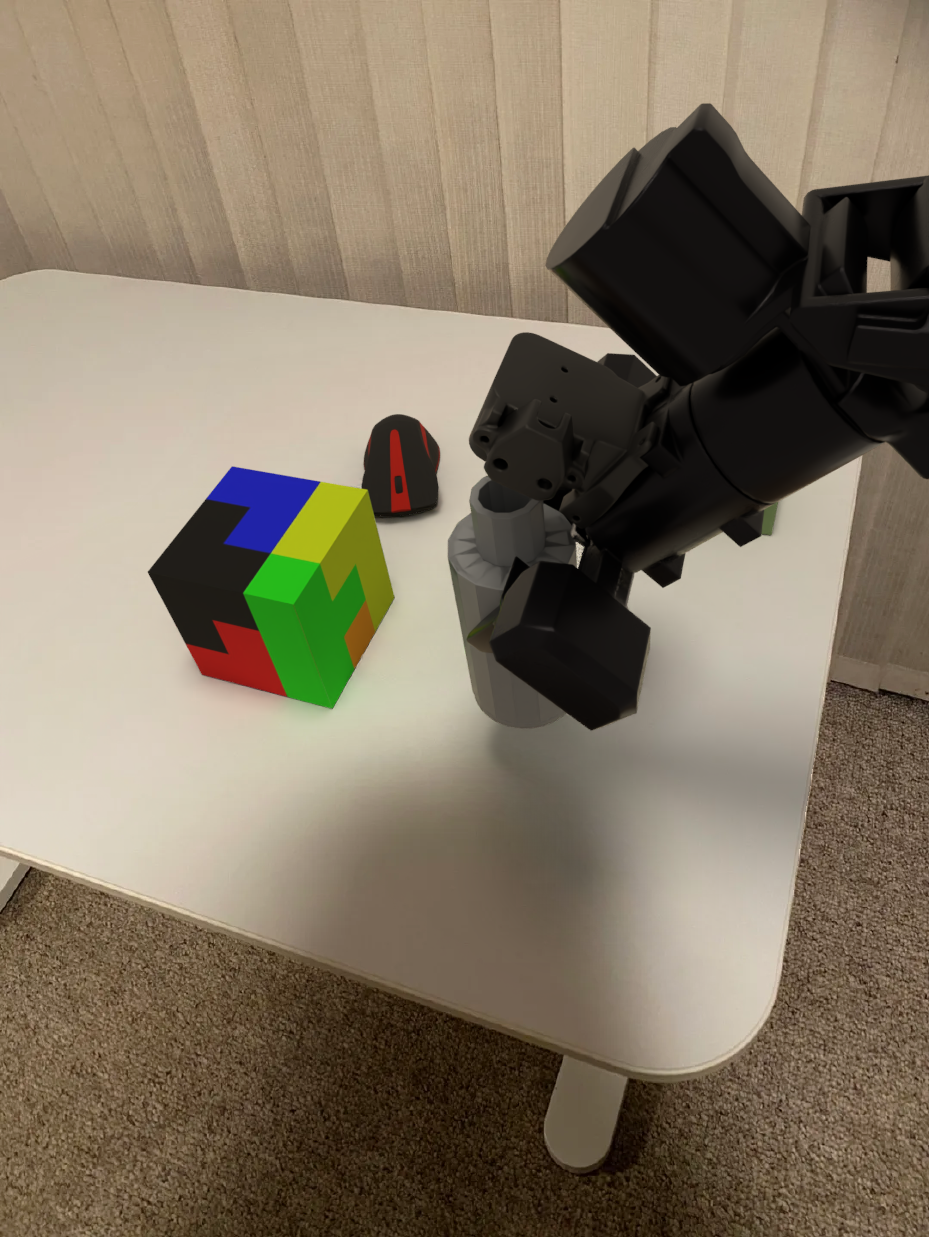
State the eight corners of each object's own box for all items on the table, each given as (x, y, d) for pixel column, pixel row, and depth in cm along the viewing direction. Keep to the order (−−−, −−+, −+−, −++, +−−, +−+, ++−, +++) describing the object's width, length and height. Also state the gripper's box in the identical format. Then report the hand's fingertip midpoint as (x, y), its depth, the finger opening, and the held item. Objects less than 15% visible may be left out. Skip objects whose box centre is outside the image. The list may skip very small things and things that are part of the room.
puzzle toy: (272, 571, 68) (231, 466, 61) (394, 597, 65) (367, 489, 58) (201, 674, 62) (147, 572, 55) (332, 708, 59) (293, 604, 52)
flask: (600, 702, 50) (597, 510, 40) (499, 745, 49) (469, 559, 39) (551, 628, 54) (537, 436, 44) (457, 666, 53) (419, 478, 42)
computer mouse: (363, 528, 70) (352, 488, 67) (364, 440, 78) (354, 401, 75) (444, 518, 70) (437, 478, 67) (438, 431, 77) (431, 390, 74)
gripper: (634, 178, 38) (424, 384, 50) (528, 463, 27) (287, 648, 38) (803, 353, 42) (573, 509, 53) (773, 669, 31) (488, 782, 42)
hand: (491, 595), depth 47 cm, fingers closed on flask, 6 cm apart
